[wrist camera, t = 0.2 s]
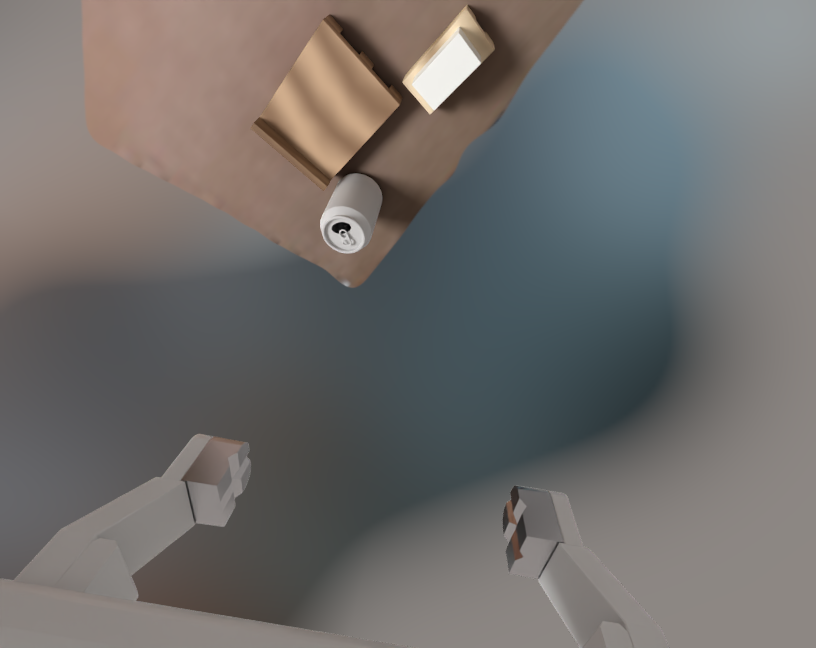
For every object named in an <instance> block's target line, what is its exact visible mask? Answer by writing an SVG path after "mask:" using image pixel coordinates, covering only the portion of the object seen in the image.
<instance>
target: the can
mask: <svg viewBox="0 0 816 648" xmlns="http://www.w3.org/2000/svg"><path fill="white" fill-rule="evenodd" d="M382 198H383V197H382V192H381V190H380V188H379V186H378V184H377V183H376V182H375V181H374V180H373V179H372V178H370V177H368V176H366V175H363V174H358V173H354V174H348V175H346V176H344V177H343V178H342V179H341V180H340V181H339V182H338V184H337V186H336V189H335V191H334V193H333V195H332V197H331V199H330V201H329V203H328V205H327V207H326V209H325V211H324V213H323V215H322V218H321V220H320V228H321V231H322V235H323V238H324V240H325V242H326V243H327V244H328V245H329V246H330V247H331V248H332V249H334V250H336V251H338V252H341V253H354V252H357V251H359V250H360V249H362V248H364V247H365V246H366V245H367V244H368V243H369V241H370V239H371V237H372V234H373V231H374V227H375V224H376V221H377V218H378V214H379V211H380V208H381V205H382Z"/></svg>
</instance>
